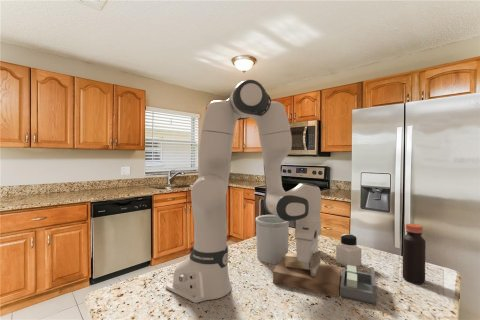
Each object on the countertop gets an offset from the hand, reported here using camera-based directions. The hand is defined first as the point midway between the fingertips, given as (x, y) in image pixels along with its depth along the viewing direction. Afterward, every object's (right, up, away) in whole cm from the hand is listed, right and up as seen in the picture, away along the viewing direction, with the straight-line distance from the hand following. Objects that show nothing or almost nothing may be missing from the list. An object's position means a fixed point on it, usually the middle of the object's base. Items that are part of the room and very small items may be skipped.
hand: (307, 265), depth 90 cm
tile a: (+11, -2, -8) cm, 14 cm away
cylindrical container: (+9, -5, +29) cm, 31 cm away
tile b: (+13, -2, -2) cm, 14 cm away
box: (+15, -6, -7) cm, 17 cm away
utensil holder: (-10, -5, +21) cm, 24 cm away
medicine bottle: (+21, -6, +15) cm, 26 cm away
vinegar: (+39, -6, +1) cm, 39 cm away
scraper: (-2, -1, +1) cm, 2 cm away
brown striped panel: (0, -5, 0) cm, 5 cm away
